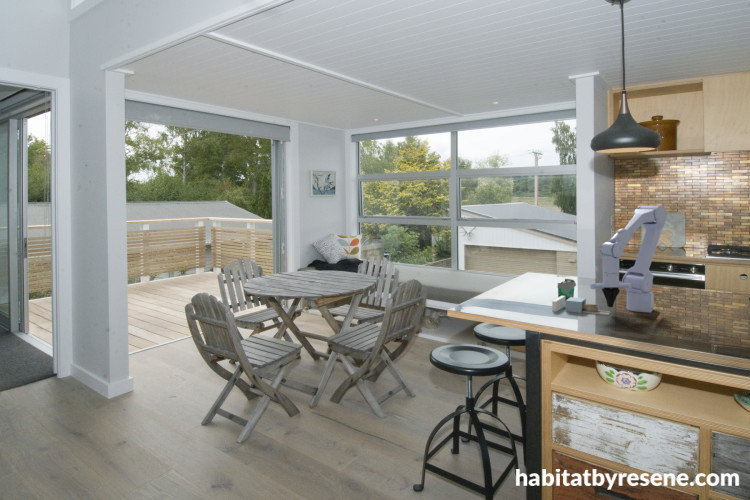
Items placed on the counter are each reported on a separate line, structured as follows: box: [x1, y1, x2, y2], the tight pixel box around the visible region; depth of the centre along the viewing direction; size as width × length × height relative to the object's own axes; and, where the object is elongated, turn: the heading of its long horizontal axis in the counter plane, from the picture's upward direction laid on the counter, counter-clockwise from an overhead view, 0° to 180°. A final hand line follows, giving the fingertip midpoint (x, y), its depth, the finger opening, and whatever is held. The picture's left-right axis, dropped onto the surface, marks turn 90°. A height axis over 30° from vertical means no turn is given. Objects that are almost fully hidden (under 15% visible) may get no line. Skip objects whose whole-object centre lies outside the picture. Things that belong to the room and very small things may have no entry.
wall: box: [551, 296, 566, 313], centre depth 197 cm, size 2×12×6 cm, turn 141°
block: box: [565, 296, 587, 314], centre depth 193 cm, size 6×7×6 cm
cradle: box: [582, 309, 611, 316], centre depth 188 cm, size 9×5×2 cm, turn 51°
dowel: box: [582, 303, 599, 312], centre depth 191 cm, size 8×3×3 cm, turn 51°
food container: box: [557, 278, 577, 303], centre depth 211 cm, size 12×6×10 cm, turn 143°
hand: (610, 306), depth 185 cm, fingers closed
